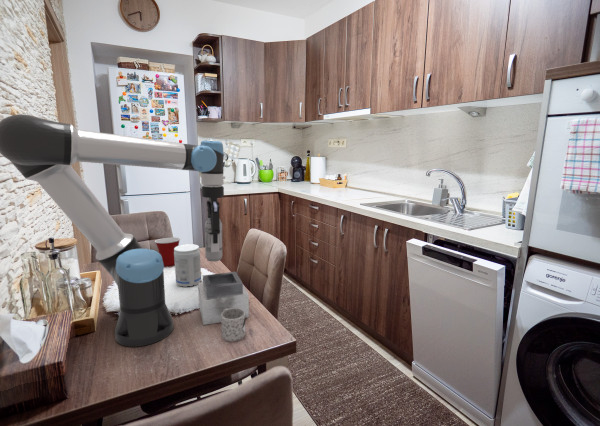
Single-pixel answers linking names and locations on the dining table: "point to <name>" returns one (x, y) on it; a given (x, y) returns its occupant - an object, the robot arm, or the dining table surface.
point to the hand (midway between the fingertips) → (213, 248)
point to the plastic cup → (167, 249)
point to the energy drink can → (208, 254)
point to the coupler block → (221, 296)
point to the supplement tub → (187, 265)
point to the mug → (233, 324)
